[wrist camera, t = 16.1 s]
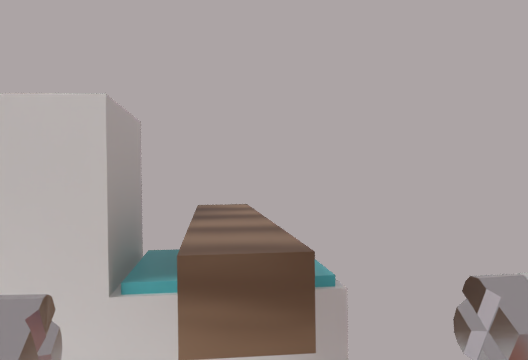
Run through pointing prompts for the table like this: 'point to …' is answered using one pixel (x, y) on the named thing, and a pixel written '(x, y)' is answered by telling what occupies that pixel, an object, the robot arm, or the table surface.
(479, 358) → the robot arm
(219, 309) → the walnut block
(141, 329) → the stepped stand
